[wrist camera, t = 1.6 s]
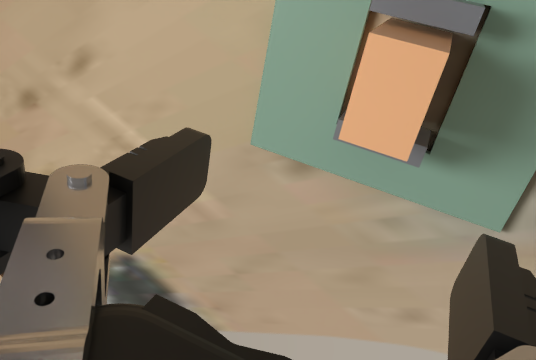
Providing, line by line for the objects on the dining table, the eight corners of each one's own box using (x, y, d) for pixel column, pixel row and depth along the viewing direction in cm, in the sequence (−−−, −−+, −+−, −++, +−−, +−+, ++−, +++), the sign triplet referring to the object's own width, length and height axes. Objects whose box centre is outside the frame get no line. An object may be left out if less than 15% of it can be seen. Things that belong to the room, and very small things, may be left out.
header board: (656, -47, 22) (685, -50, 19) (499, 228, 31) (503, 255, 28) (298, -111, 27) (278, -121, 24) (253, 141, 36) (234, 156, 33)
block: (453, 32, 27) (449, 53, 20) (419, 119, 30) (407, 161, 23) (391, 17, 28) (369, 32, 21) (365, 103, 31) (338, 138, 24)
